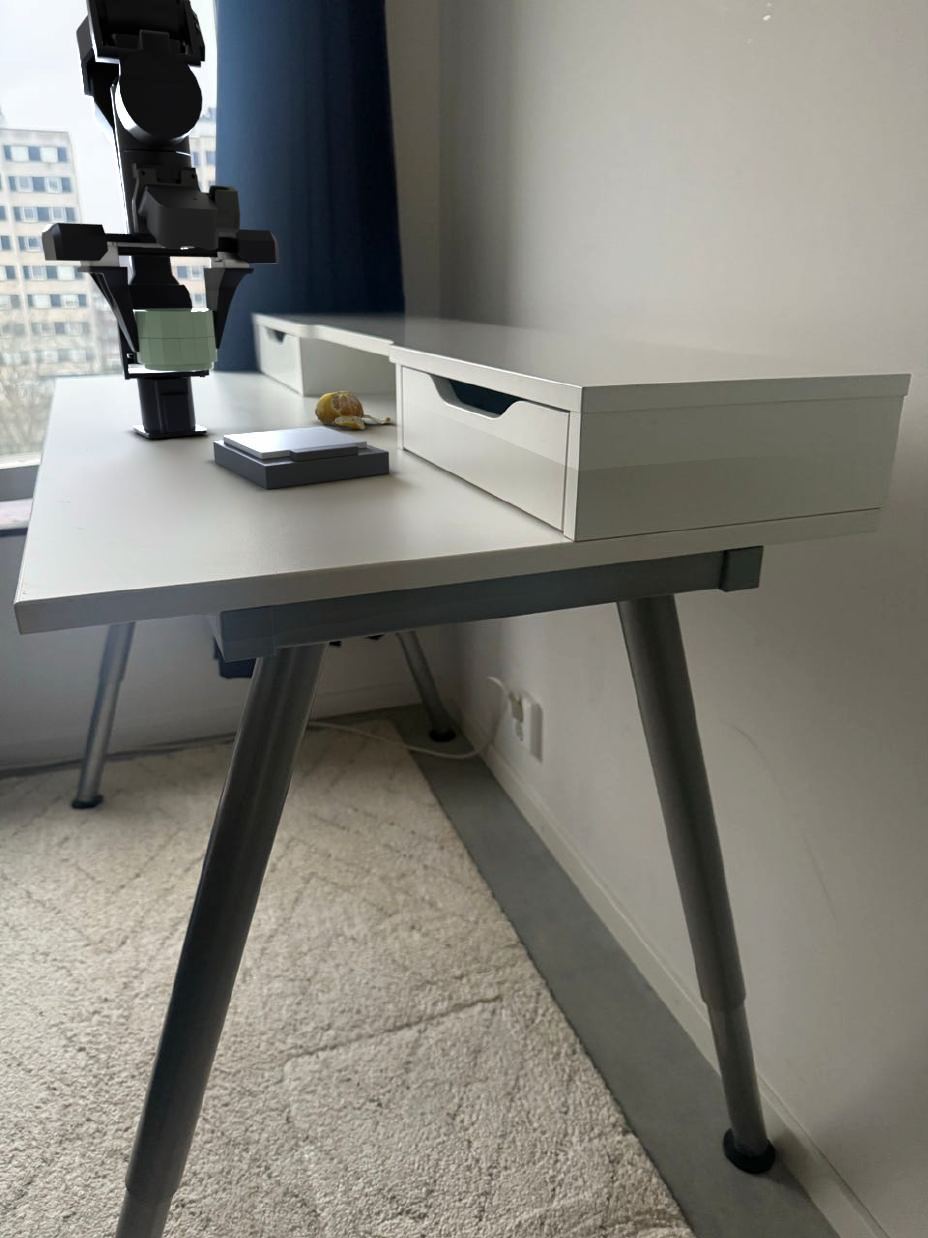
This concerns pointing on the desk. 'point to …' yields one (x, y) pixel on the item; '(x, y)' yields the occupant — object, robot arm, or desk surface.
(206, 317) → the bowl
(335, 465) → the scale
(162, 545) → the desk surface
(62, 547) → the desk surface
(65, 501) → the desk surface
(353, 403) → the fruit
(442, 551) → the desk surface
